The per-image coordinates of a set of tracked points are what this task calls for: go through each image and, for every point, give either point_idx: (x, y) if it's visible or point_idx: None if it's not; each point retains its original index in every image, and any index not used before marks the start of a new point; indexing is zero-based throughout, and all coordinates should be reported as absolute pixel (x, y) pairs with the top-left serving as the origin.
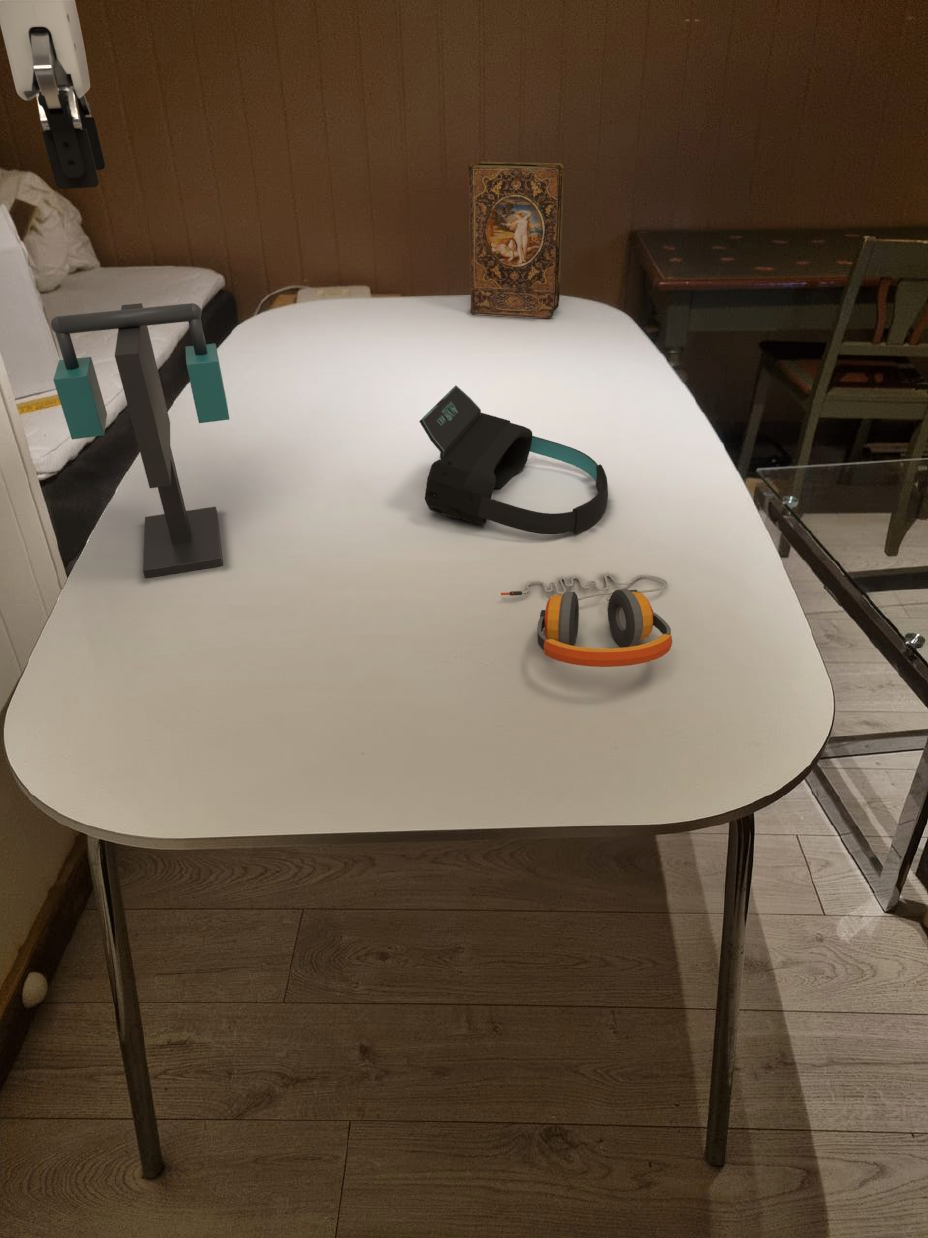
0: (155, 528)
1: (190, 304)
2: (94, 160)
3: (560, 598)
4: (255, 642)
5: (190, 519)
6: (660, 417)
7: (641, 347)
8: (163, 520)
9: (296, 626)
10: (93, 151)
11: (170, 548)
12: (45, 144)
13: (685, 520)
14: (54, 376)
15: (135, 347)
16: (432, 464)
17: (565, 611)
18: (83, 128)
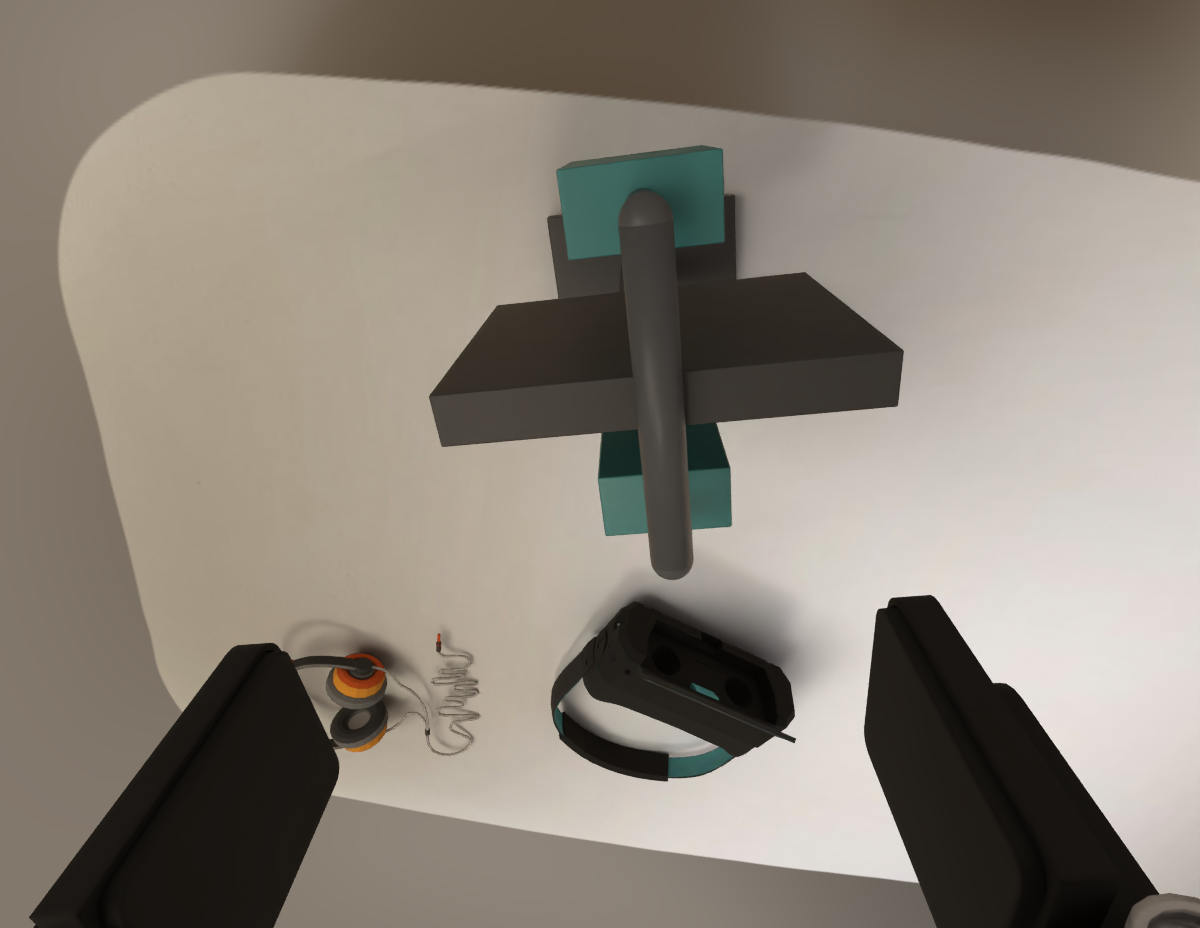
0: None
1: (668, 569)
2: (880, 747)
3: (351, 696)
4: (377, 383)
5: (700, 281)
6: (825, 845)
7: None
8: None
9: (408, 429)
10: (896, 794)
11: (608, 256)
12: (98, 830)
13: (574, 795)
14: (577, 168)
15: (483, 436)
16: (635, 653)
17: (330, 694)
18: (960, 918)
